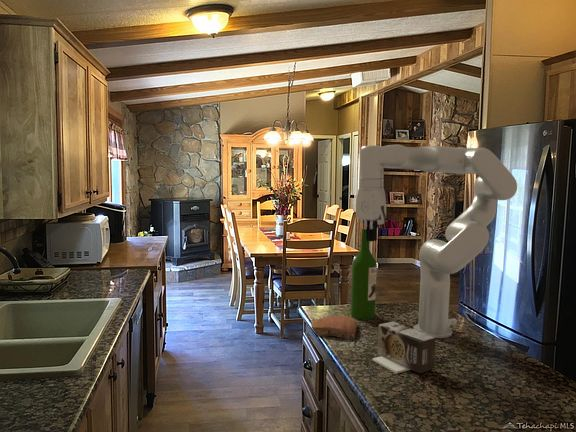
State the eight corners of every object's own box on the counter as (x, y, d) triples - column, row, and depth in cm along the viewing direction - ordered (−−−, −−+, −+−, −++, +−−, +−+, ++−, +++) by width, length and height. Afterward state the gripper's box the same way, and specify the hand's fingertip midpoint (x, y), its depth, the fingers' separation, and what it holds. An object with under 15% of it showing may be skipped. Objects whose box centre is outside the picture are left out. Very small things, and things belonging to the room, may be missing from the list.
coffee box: (377, 324, 142) (420, 341, 129) (393, 320, 146) (436, 336, 132) (376, 354, 143) (419, 374, 130) (392, 350, 146) (435, 369, 133)
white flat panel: (403, 353, 146) (403, 351, 146) (428, 365, 137) (428, 363, 137) (372, 360, 140) (372, 358, 140) (396, 373, 131) (396, 371, 131)
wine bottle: (368, 321, 175) (372, 231, 172) (346, 316, 180) (349, 229, 177) (378, 315, 183) (382, 229, 179) (357, 311, 188) (360, 227, 184)
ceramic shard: (316, 308, 173) (358, 317, 170) (313, 326, 173) (355, 335, 170) (311, 315, 159) (356, 325, 156) (307, 334, 159) (352, 345, 156)
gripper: (347, 184, 160) (347, 239, 162) (379, 185, 148) (378, 245, 150) (364, 183, 164) (364, 237, 166) (396, 184, 152) (396, 242, 154)
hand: (371, 240), depth 158 cm, fingers closed
